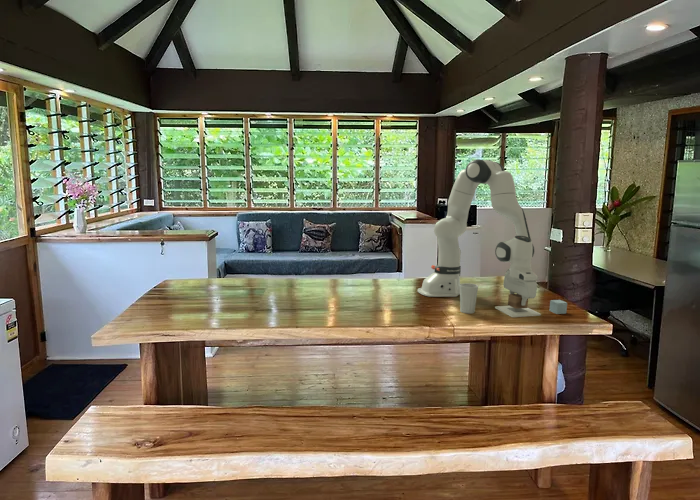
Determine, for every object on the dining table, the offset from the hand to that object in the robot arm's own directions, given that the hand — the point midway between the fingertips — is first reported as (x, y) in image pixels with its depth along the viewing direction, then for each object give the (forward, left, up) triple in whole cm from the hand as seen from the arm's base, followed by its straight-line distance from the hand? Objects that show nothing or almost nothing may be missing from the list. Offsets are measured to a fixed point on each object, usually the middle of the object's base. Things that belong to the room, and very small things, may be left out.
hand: (517, 302), depth 214 cm
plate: (0, 0, -4) cm, 4 cm away
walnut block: (0, 0, -2) cm, 2 cm away
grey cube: (+18, -4, -4) cm, 19 cm away
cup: (-22, +5, -4) cm, 23 cm away
